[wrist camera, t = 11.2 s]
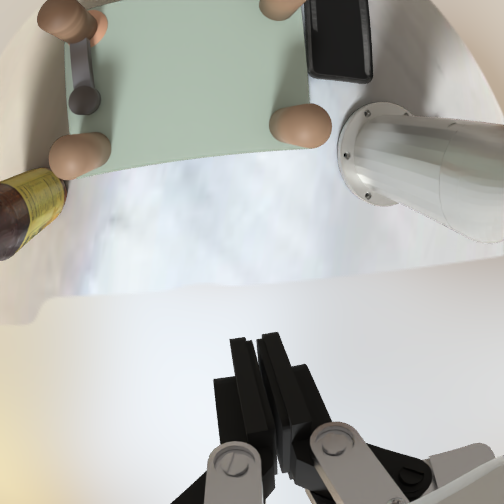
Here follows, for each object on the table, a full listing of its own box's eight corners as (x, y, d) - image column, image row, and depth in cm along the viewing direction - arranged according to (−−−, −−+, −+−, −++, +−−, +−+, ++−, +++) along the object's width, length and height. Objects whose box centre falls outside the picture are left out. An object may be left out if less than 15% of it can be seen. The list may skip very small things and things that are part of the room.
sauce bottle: (27, 219, 31) (-78, 303, 12) (24, 166, 28) (-99, 218, 10) (74, 219, 32) (-23, 314, 14) (72, 164, 29) (-46, 216, 11)
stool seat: (292, -5, 26) (321, -40, 17) (304, 146, 33) (340, 155, 24) (72, 22, 23) (36, -4, 15) (83, 175, 30) (47, 194, 22)
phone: (364, -24, 25) (373, 84, 30) (360, -21, 26) (368, 85, 31) (302, -37, 24) (308, 76, 29) (299, -34, 25) (304, 78, 30)
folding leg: (106, 109, 26) (83, 106, 20) (73, 119, 25) (44, 120, 19) (96, 10, 21) (75, -13, 15) (64, 21, 21) (37, 3, 15)
